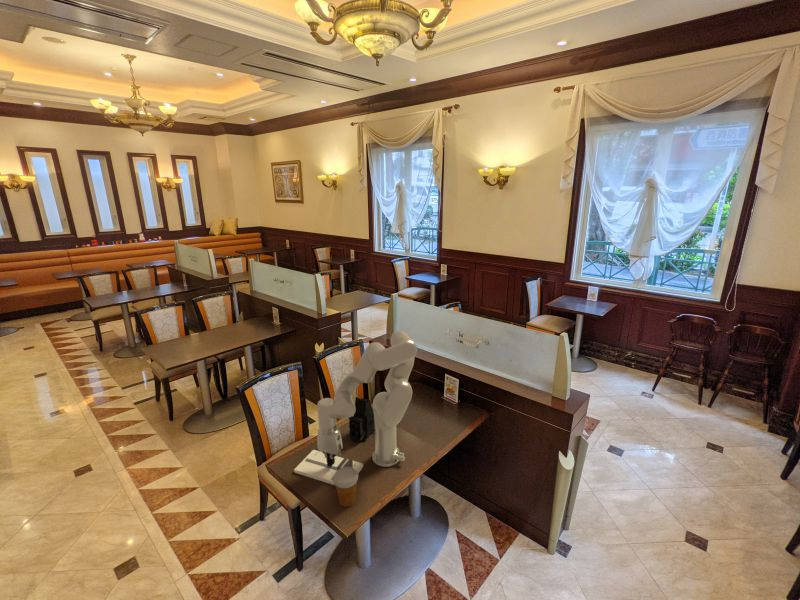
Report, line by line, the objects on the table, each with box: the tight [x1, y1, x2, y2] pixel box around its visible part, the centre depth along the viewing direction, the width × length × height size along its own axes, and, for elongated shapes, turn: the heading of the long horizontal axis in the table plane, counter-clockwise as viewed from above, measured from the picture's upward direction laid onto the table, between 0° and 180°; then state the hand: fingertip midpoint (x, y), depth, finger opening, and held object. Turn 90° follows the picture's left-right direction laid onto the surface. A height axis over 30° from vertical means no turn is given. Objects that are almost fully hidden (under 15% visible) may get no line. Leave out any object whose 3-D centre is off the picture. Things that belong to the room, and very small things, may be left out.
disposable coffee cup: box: [333, 467, 359, 508], centre depth 142 cm, size 10×10×12 cm
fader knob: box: [337, 457, 354, 470], centre depth 156 cm, size 4×6×4 cm, turn 158°
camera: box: [348, 396, 375, 442], centre depth 180 cm, size 10×14×20 cm
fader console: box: [293, 449, 364, 486], centre depth 160 cm, size 26×14×2 cm, turn 68°
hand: (330, 464), depth 159 cm, fingers closed
